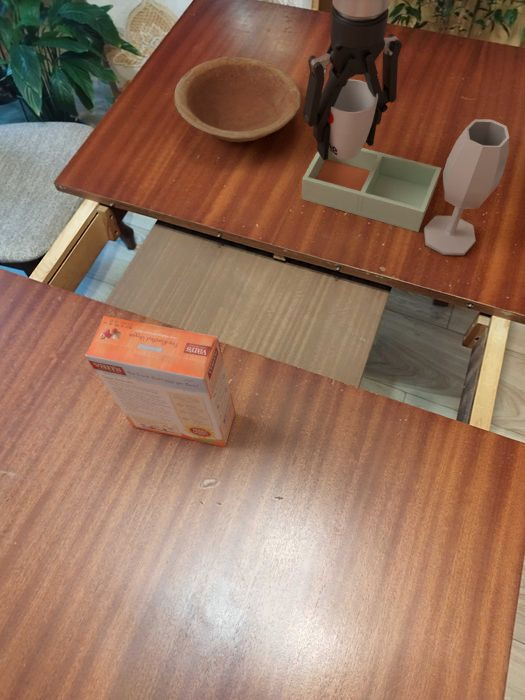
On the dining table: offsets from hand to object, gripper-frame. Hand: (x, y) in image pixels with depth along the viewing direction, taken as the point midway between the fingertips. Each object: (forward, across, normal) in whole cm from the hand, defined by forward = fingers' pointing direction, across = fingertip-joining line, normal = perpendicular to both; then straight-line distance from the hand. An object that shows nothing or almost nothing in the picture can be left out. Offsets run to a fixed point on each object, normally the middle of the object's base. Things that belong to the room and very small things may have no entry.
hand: (345, 147), depth 91 cm
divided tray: (+9, -4, +4) cm, 10 cm away
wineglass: (+9, -11, +18) cm, 23 cm away
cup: (0, 0, 0) cm, 1 cm away
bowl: (+9, +11, -23) cm, 27 cm away
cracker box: (+9, +40, +33) cm, 52 cm away
